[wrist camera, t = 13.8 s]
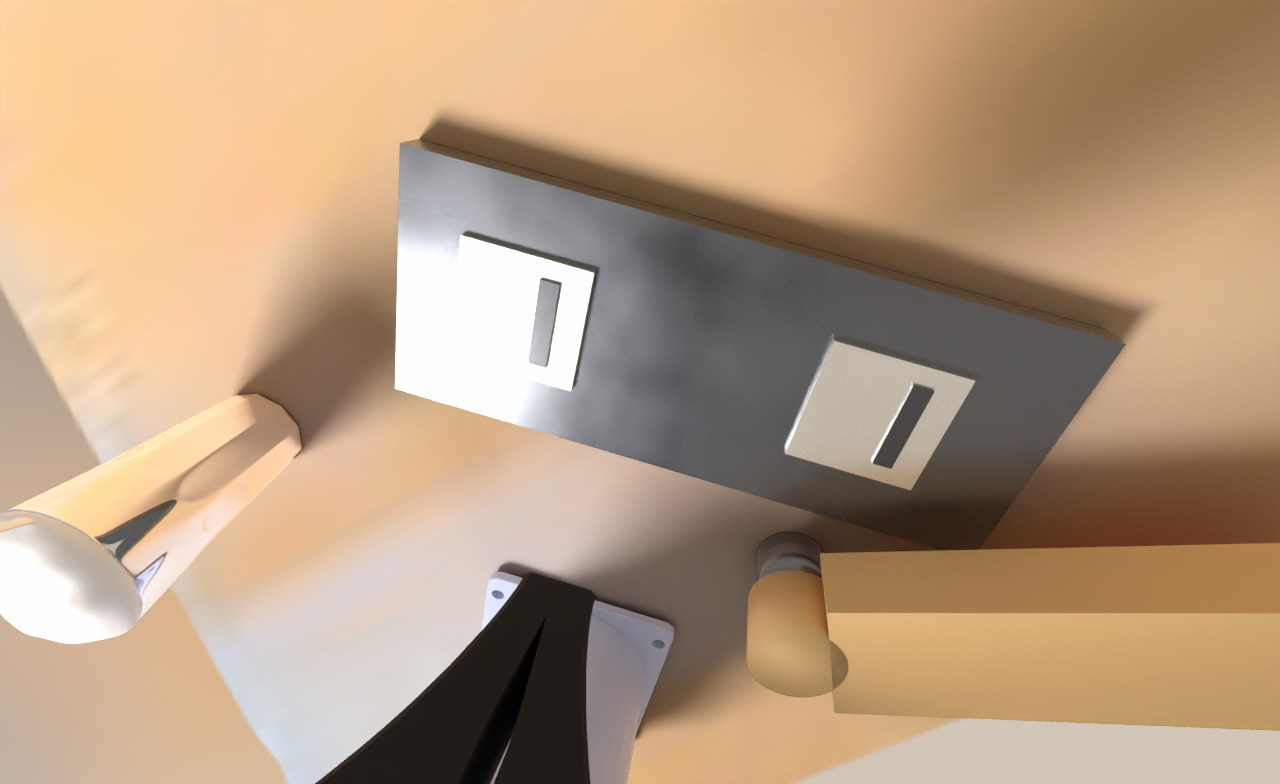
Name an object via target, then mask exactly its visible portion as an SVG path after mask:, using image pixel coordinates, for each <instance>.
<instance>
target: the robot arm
mask: <svg viewBox="0 0 1280 784" xmlns="http://www.w3.org/2000/svg"><path fill="white" fill-rule="evenodd" d="M498 590H499V591H498ZM500 591H501V592H500ZM595 598H596V596H595V595H594V593H593V592H592V591H591V590H588V589H585V588H581V587H578V586H575V585H572V584H568V583H565V582H562V581H559V580H555V579H552V578H549V577H545V576H542V575H539V574H536V573H532V572H531V573H528V574H526V575H525V576H524V577H523V578H521V577H518V576H515V575H512V574H508V573H505V572H500V571H499V572H494V573H493V574H492V575H491V577H490V579H489V581H488V586H487V594H486V601H485V608H484V615H483V622H482V629H481V632H480V633H479V634H478V635H477V636H476V638H475V639H474V640H473V641H472V642H471V643H470V644H469V645H468V646H467V647H466V648H465V650H464V651H463V652H462V653H461V654H460V655H459V656H458V657H457V658H456V659H455V660H454V661H453V662H452V663H451V665H450V666H449V667H448V668H447V669H445V670H444V671H443V672H442V673H441V674H440V675H439V676H438V677H437V678H436V679H435V680H434V681H433V682H432V683H431V684H430V685H429V686H428V687H427V688H426V689H425V690H424V691H423V692H422V693H421V694H420V695H419V696H418V697H417V698H416V699H415V700H414V701H413V702H412V703H411V704H409V705H408V706H407V707H406V708H405V709H404V710H403V711H402V712H401V713H400V714H399V715H397V716H396V717H395V718H394V719H393V720H392V721H391V722H390V723H388V724H387V725H386V726H385V727H384V728H383V729H382V730H380V731H379V732H378V733H377V734H376V735H375V736H373V737H372V738H371V739H370V740H369V741H368V742H366V743H365V744H364V745H363V746H362V747H360V748H359V749H358V750H357V751H355V752H354V753H353V754H352V755H351V756H349V757H348V758H347V759H346V760H344V761H343V762H342V763H341V764H339V765H338V766H337V767H336V768H334V769H333V770H332V771H331V772H329V773H328V774H327V775H326V776H324V777H323V778H322V779H321V780H319V781H318V782H317V783H315V784H627V779H628V774H629V769H630V763H631V758H632V753H633V747H634V742H635V737H636V732H637V730H638V727H639V725H640V722H641V720H642V717H643V715H644V712H645V709H646V707H647V704H648V702H649V699H650V697H651V694H652V692H653V689H654V687H655V684H656V682H657V679H658V677H659V674H660V671H661V669H662V666H663V664H664V661H665V659H666V656H667V654H668V651H669V649H670V646H671V644H672V641H673V638H674V628H673V626H671V625H670V624H669V623H667V622H665V621H661V620H658V619H655V618H652V617H648V616H645V615H642V614H639V613H635V612H632V611H629V610H626V609H622V608H619V607H616V606H612V605H609V604H606V603H603V602H599V601H596V600H595ZM659 640H661V641H659Z"/></svg>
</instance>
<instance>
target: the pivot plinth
mask: <svg viewBox="0 0 1280 784" xmlns="http://www.w3.org/2000/svg"><path fill="white" fill-rule="evenodd" d="M820 553H823V550H822V548H821V547H820V545H819V544H818V543H817V542H816V541H815V540H813V539H812V538H810V537H808V536H806V535H804V534H800V533H795V532H783V533H778V534H775V535H772V536H770V537H768V538H767V539H766V540H764V541H763V542H762V544H761V545H760V547H759V549H758V552H757V581H758V580H759V579H761V578H762V577H764V576H766V575H768V574H771V573H774V572H778V571H785V570H796V571H803V572H807V573H811V574H814V575H816V576H818V577H820V578H822V574H821V561H820Z"/></svg>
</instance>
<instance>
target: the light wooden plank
mask: <svg viewBox="0 0 1280 784" xmlns="http://www.w3.org/2000/svg"><path fill="white" fill-rule="evenodd" d="M820 561H821V574H822V578H820V577H818V576H816V575H814V574H811V573H807V572H803V571H796V570H785V571H778V572H774V573H771V574H768V575H766V576H764V577H762V578H761V579H759V580H758V581H757V582H756V583H755V584H754V585H753V586H752V588H751V590H750V592H749V595H748V617H747V658H746V660H747V667H748V669H749V672H750V673H751V675H752V676H753V677H754V679H755V680H756V681H757V682H759V683H760V684H761V685H763V686H764V687H766V688H767V689H769V690H771V691H774V692H776V693H779V694H782V695H787V696H792V697H814V696H819V695H823V694H826V693H828V692H831V691H832V693H833V702H834V711H835V713H850V714H875V715H900V716H925V717H950V718H975V719H1001V720H1025V721H1050V722H1076V723H1100V724H1125V725H1151V726H1175V727H1201V728H1227V729H1251V730H1276V731H1280V543H1255V544H1210V545H1165V546H1121V547H1076V548H1032V549H987V550H943V551H898V552H854V553H820Z"/></svg>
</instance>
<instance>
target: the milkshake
mask: <svg viewBox="0 0 1280 784" xmlns="http://www.w3.org/2000/svg"><path fill="white" fill-rule="evenodd" d="M301 449H302V445H301V439H300V433H299V427H298V426H297V424H296V423H295V422H294V421H293V420H292V418H291V417H290V416H289V415H288V414H287V412H286V411H285V410H284V409H283V407H282V406H280V405H278V404H276V403H274V402H272V401H270V400H268V399H266V398H264V397H262V396H260V395H258V394H247V395H235V396H232V397H230V398H228V399H226V400H224V401H222V402H220V403H218V404H216V405H214V406H213V407H211V408H209V409H207V410H205V411H203V412H201V413H199V414H197V415H195V416H193V417H191V418H189V419H187V420H186V421H184V422H182V423H180V424H178V425H176V426H174V427H172V428H170V429H168V430H166V431H164V432H162V433H160V434H159V435H157V436H155V437H153V438H151V439H149V440H147V441H145V442H143V443H141V444H139V445H137V446H135V447H134V448H132V449H130V450H128V451H126V452H124V453H122V454H120V455H118V456H116V457H115V458H113V459H111V460H109V461H107V462H105V463H103V464H101V465H99V466H97V467H95V468H93V469H91V470H89V471H87V472H85V473H83V474H81V475H79V476H77V477H75V478H73V479H71V480H69V481H67V482H65V483H63V484H60V485H58V486H56V487H55V488H52V489H50V490H48V491H46V492H44V493H42V494H40V495H38V496H36V497H34V498H32V499H30V500H28V501H26V502H24V503H22V504H19V505H18V506H15V507H13V508H11V509H9V510H7V511H5V512H3V513H1V514H0V614H1V615H2V616H3V617H4V618H5V619H6V620H7V621H8V622H10V623H11V624H12V625H13V626H15V627H16V628H17V629H18V630H20V631H22V632H24V633H26V634H28V635H31V636H35V637H40V638H44V639H48V640H53V641H56V642H61V643H68V644H78V643H86V642H92V641H98V640H102V639H107V638H111V637H115V636H118V635H121V634H123V633H125V632H127V631H128V630H129V629H130V628H132V627H133V626H134V624H135V623H136V622H137V621H138V620H139V619H140V617H142V615H143V614H144V613H145V612H146V611H147V610H148V609H149V608H150V607H151V606H152V605H153V604H154V603H155V602H156V601H157V600H158V599H159V597H160V596H161V595H162V594H163V593H164V592H165V591H166V590H167V589H168V588H169V587H170V586H171V585H172V584H173V583H174V582H175V580H176V579H177V578H178V577H179V576H180V575H181V574H182V573H183V572H184V571H185V570H186V569H187V568H188V567H189V566H190V564H191V563H192V562H193V561H194V560H195V559H196V558H197V557H198V555H199V554H200V553H201V552H202V550H203V549H204V548H205V547H206V546H207V545H208V544H209V543H210V542H211V541H212V540H213V539H214V538H215V537H216V536H217V535H218V534H219V533H220V532H221V531H222V530H223V529H224V528H225V527H226V526H227V525H228V524H229V523H230V522H231V521H232V520H233V519H234V518H235V517H236V516H237V515H238V514H239V513H240V512H241V511H242V510H243V509H244V508H245V507H246V506H247V505H248V504H249V503H250V502H251V501H252V500H253V499H254V498H255V497H256V496H257V495H258V494H259V493H260V492H261V491H262V490H263V489H264V488H265V487H266V486H267V485H268V484H269V483H270V482H271V481H272V480H273V479H274V478H275V477H276V476H277V475H278V474H279V473H280V472H281V471H282V470H283V469H284V468H285V467H286V466H287V465H288V464H289V463H290V462H291V461H292V459H293V458H294V457H295V456H296V455H297V453H298V452H299V451H300V450H301Z"/></svg>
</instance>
